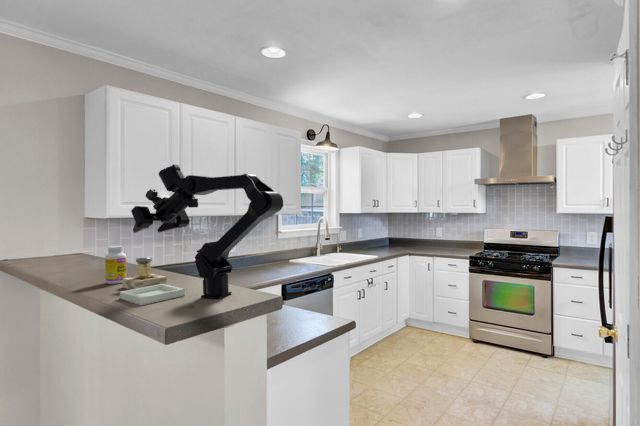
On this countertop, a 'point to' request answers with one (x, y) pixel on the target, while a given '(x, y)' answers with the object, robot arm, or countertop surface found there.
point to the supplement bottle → (115, 265)
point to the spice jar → (144, 267)
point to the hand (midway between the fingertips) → (146, 231)
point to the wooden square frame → (143, 281)
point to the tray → (151, 294)
